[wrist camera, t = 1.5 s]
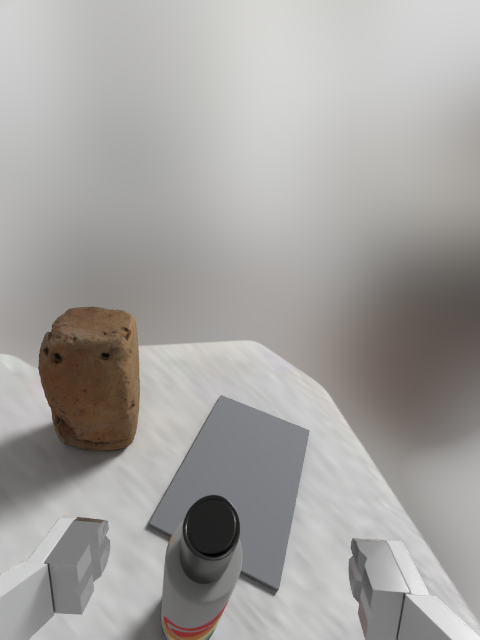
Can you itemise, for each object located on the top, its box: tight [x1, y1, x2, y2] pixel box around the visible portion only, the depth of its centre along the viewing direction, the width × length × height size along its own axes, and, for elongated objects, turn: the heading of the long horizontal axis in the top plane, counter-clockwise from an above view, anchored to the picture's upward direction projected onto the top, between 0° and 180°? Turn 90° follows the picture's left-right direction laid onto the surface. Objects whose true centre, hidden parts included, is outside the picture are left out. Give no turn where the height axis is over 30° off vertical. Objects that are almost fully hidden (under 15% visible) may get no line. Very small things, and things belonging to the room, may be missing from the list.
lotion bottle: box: [161, 495, 242, 640], centre depth 25 cm, size 6×6×20 cm
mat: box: [149, 395, 309, 591], centre depth 43 cm, size 22×16×1 cm
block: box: [38, 307, 140, 451], centre depth 40 cm, size 11×8×20 cm
